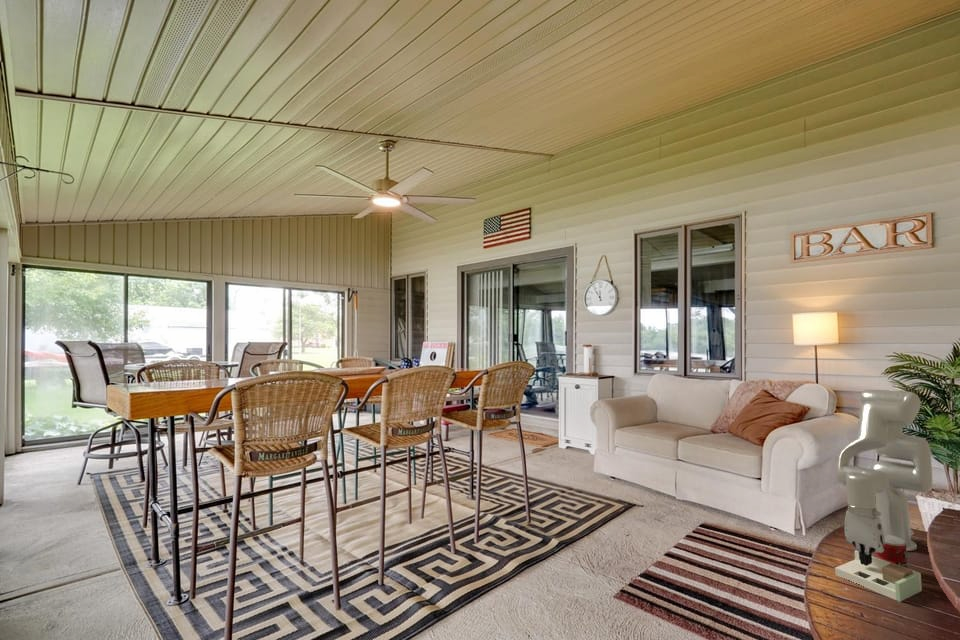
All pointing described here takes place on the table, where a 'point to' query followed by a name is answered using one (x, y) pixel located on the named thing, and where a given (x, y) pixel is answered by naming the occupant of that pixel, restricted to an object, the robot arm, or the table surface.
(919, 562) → the table surface
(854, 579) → the trap box
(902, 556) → the canned food
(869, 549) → the robot arm
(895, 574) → the block
